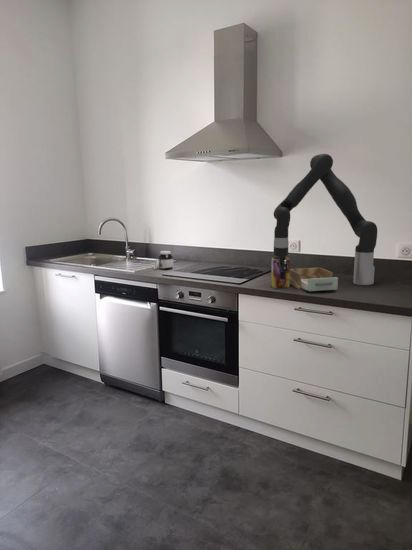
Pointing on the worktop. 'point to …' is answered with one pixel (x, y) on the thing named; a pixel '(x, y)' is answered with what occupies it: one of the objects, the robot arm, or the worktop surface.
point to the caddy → (307, 275)
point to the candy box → (279, 274)
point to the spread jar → (164, 261)
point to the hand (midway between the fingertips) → (280, 277)
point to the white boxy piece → (320, 284)
